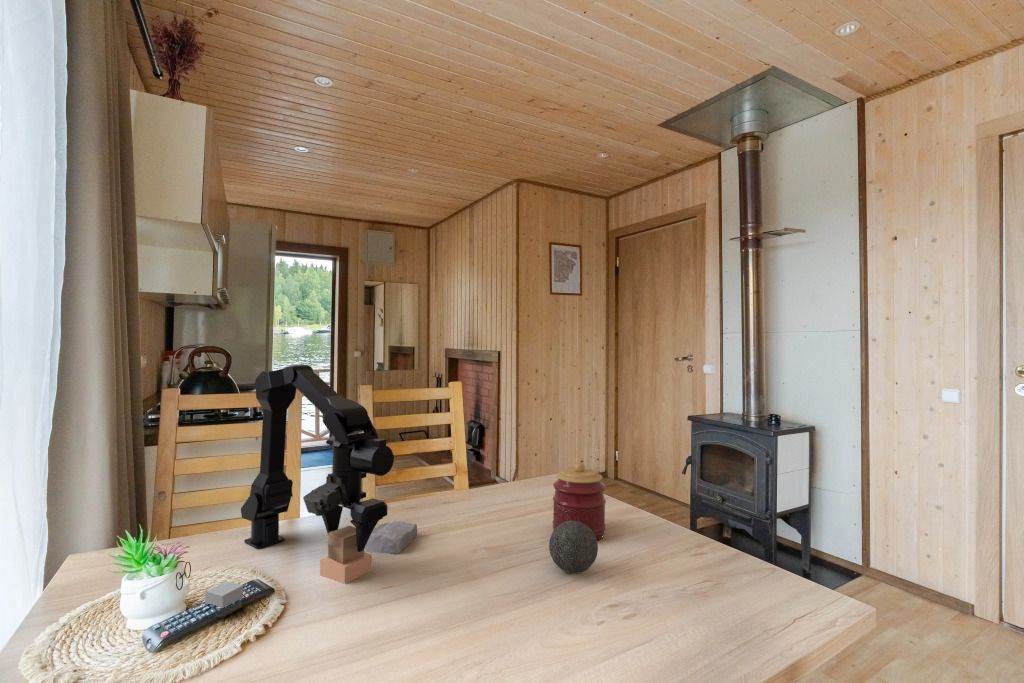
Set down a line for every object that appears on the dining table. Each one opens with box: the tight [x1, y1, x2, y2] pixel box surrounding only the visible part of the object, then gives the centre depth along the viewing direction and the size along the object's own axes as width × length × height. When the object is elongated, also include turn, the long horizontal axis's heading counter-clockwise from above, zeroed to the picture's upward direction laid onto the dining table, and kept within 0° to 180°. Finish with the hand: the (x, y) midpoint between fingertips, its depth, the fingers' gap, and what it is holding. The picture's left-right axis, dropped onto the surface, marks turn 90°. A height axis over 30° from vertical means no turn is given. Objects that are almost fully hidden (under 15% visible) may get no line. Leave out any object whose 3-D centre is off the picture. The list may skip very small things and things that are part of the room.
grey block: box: [204, 580, 244, 608], centre depth 86 cm, size 4×4×4 cm
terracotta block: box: [319, 551, 372, 585], centre depth 101 cm, size 7×7×4 cm
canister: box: [552, 461, 607, 540], centre depth 123 cm, size 13×13×18 cm
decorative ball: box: [548, 521, 599, 574], centre depth 103 cm, size 10×10×10 cm
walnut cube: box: [327, 525, 365, 564], centre depth 101 cm, size 5×5×5 cm
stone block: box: [364, 520, 418, 555], centre depth 116 cm, size 12×5×10 cm
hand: (346, 545), depth 101 cm, fingers open, 9 cm apart
